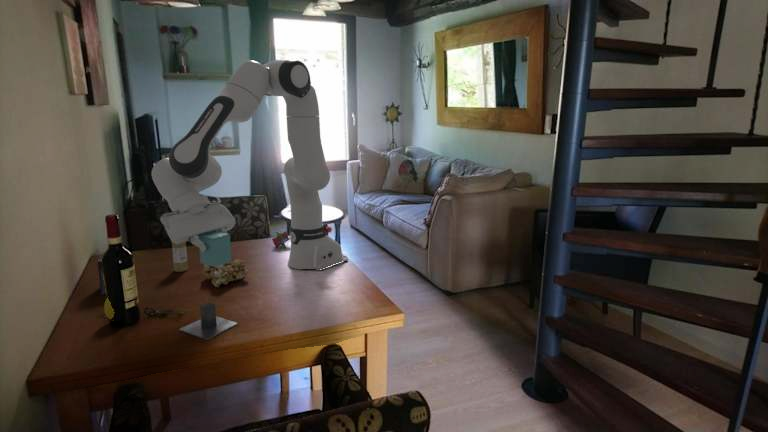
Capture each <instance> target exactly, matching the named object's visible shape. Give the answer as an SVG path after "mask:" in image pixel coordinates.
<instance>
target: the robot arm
mask: <svg viewBox="0 0 768 432" xmlns="http://www.w3.org/2000/svg"><path fill="white" fill-rule="evenodd" d="M311 83H312V82H311V75H310V71H309V69H308V67H307V65H305V63H304V62H302V61H300V60H298V59H293V58H292V59H291V58H288V59H275V60H273V61H269V62H262V63H260V62H258V61H255V60H252V59H251V60H250V59H249V60H245V61H243V62H242V63H241V64H240V65H239V66H238V67H237V68H236V69H235V71H234V72H233V73H232V75H231V76H230V77H229V79H228V81H227V82H226V84H225V86H224V88H223V89H222V90H221V92H220V94H219V95H218V96H216V97H215V98H214V99H212V101H211V102H210V103H209V104H208V106H206V108H205V109H204V111H203V112H202V113H201V115H200V116H199V117H198V119H197V120H196V122H195V123H194V124H193V126H192V127H191V129H190V130H189V131H188V133H186V135H184V136H183V137H182V138H181V139H180V140H179V141H177V142H176V143H175V144H174V145H173V147H171V150H170V152H169V155H168V157H164V158H161V160H158V161H157V162H156V163H155V164H154V166H153V167H152V169H151V178H152V181H153V184H154V185H155V187H156V189H157V191H158V192H159V194H160V195H161V196H162V198H163V199H164V200H165V201H167V203H168V206H169V207H168V208H170V210H171V212H165V213H163V214H162V215H161V216H160V222H161V223H162V225H163V226H164V229H165V231H166V233H167V236H168V237H169V239H170V241H171V243H172V242H173V243H175V244H181V243H184V242H185V243H187V242H190V243H191V244H192V245H193V246H195V247H197V248H200V249H199V251H200V250H201V251H202V252H204V251H207V250H208V249H209V246H208V244H207V243H203V242H202V241H200V240H199V235H202V234H206V233H210V232H214V231H217V232H222V233H227V234H228V231H231V230H232V229H233V228H234V226H235V225H236V218H235V217H234V216H233V214H232V213H231V212H230V210H229V209H228V208H227V207H226V206H225V205H224V204H221V203H222V200H221V199H220V197H219V196H214V195H213V196H212V195H208V194H203V193H202V194H201V193H200V192H202V191H204V190H206V189H208V188H211V187H213V186H214V185H216V184H218V182H219V180H220V178H221V176H222V171H223V170H222V166H221V165H220V162H219V161H217V159H216V157H214V156H213V155H212V154H211V153H210V149H211V145H212V143H213V142H214V140H215V139H216V137H217V136H218V135H219V133H220V131H221V130H222V129H223V127H224V125H226V124H227V123H229V122H233V123H239V124H240V123H245V122H247V121H249V120H250V119H251V118H252V117H253V116H254V114H256V111H257V110H258V108H259V106H260V104H261V103H262V101H263V99H264V97H265V96H267V97H272V96H273V97H283V99H284V102H285V104H286V105H285V106H286V109H285V110H286V111H285V113H286V129H287V130H286V131H287V141H288V143H289V146H290V150H291V153H292V157H289V158H288V160H287V161H285V164H284V166H283V173H284V176H285V182H286V188H287V191H288V197H289V203H290V222H291V224H290V227H289V228H290V229H289V235H290V240H289V241H290V250H289V258H288V261H287V266H288V267H290V268H292V269H295V270H296V269H297V270H301V269H316V270H315V271H321V270H320V269H323V268H326V267H328V266H331V265H333V264H336V263H339V262H342V261H347V260H348V261H349V257H348V256H347V255H345V254H344V255H345V256H344V255H343V251H342V246H341V244H339V242H337V241H336V240H335V239H334V238H332V237H330V236H329V235H327V233H329V234H330V233H331V232H332V231H333V228H332V227H331V226H325V225H323V204H322V201H321V198H320V194H319V191H321V190H323V189H325V188H326V187H327V186H328V185H329V183H330V181H331V180H330V179H331V173H330V169H329V168H328V165H327V162H326V158H325V154H324V150H323V146H322V140H321V139H322V138H321V126H320V125H321V123H320V110H319V102H318V97H317V91H316V89H315V88H314V86H313V85H312V84H311ZM348 261H347V262H348Z"/></svg>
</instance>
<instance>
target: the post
mask: <svg viewBox="0 0 768 432" xmlns="http://www.w3.org/2000/svg"><path fill="white" fill-rule="evenodd" d="M216 311H217V310H216V304H215V303H213V302H209V301H208V302H205V303H202V304H200V305H199V312H200V319H198V320H195V321H194V322H191V323H190V324H187V325H185V326H183V327H181V328H179V331H180V332H182V333H186V334H189V335H191V336H194V337H197V338H199V339H201V340H204V341H209V340H210V339H213V338H214V337H217V336H218V335H220V334H222V333H224V332H226V331H228V330H230V329H232V328H234V327H236V326H238V325H239V323H238V322H236V321H232V320H229V319H226V318H223V317H220V316H217V312H216Z"/></svg>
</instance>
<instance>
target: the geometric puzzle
mask: <svg viewBox="0 0 768 432" xmlns="http://www.w3.org/2000/svg"><path fill="white" fill-rule="evenodd" d="M280 232H282V233H280ZM275 235H276V236H274V237H272V243H273V245H274V247H275V249H278V248H280V247H281V246H282V247H284V248H287V245H286V243H288V242H289V241H291V240H290V234H288V233H287V231H279V232H278V231H275Z"/></svg>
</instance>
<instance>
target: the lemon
mask: <svg viewBox="0 0 768 432" xmlns="http://www.w3.org/2000/svg"><path fill="white" fill-rule="evenodd" d="M103 307H104V314H105V316H106V317H107V319H109V320H111V319H112V318H113V317H114V313H115V312H114V309H113V308H112V306H111V302H110V301H109V299H108V297H107V298H106V299H105V302H104V306H103Z"/></svg>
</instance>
